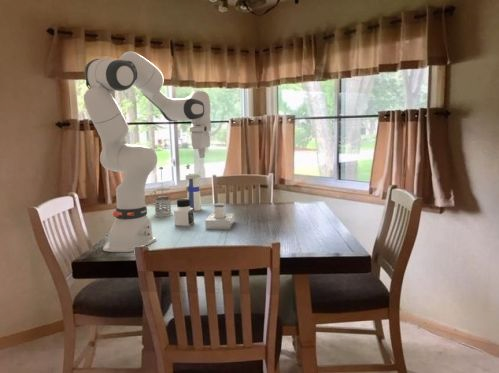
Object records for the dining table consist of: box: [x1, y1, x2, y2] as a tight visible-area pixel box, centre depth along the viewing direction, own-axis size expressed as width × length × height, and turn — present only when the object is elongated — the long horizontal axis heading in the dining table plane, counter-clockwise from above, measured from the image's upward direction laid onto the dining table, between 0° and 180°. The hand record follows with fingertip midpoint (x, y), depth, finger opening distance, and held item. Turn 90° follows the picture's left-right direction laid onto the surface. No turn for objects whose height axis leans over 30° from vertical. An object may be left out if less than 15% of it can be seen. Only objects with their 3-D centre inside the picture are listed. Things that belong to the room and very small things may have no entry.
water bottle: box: [185, 163, 202, 212], centre depth 224 cm, size 8×9×25 cm
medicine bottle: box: [173, 197, 195, 227], centre depth 194 cm, size 7×7×12 cm
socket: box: [204, 212, 235, 230], centre depth 191 cm, size 14×11×5 cm
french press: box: [148, 166, 174, 218], centre depth 213 cm, size 10×12×25 cm
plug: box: [214, 202, 226, 218], centre depth 190 cm, size 4×4×9 cm
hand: (202, 157), depth 191 cm, fingers closed
